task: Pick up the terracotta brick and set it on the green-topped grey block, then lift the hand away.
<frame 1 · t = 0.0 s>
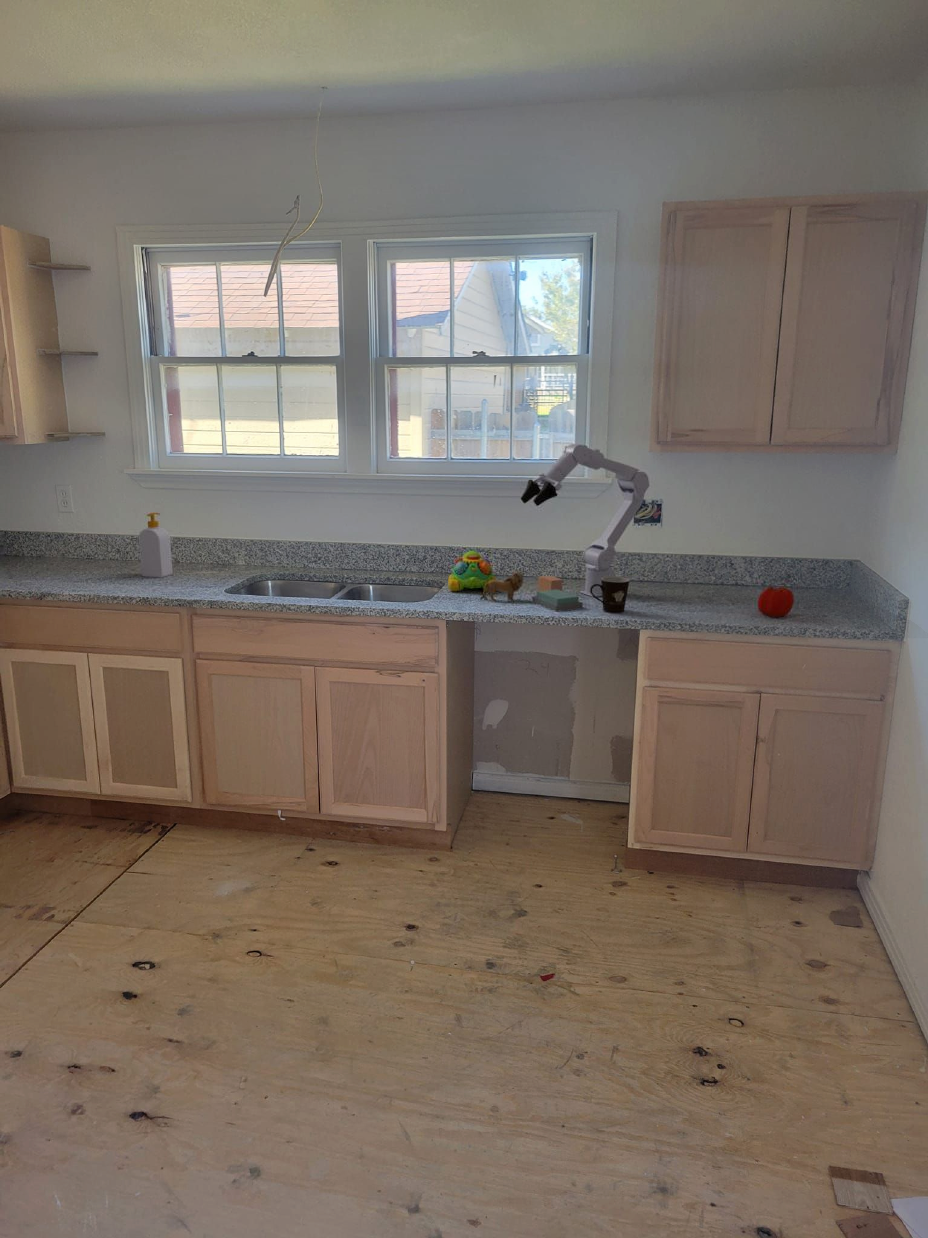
hand: (528, 502, 261), 32 cm above the worktop, tool tilted 50°, fingers open, 7 cm apart
soap bottle: (158, 575, 305), on the worktop
turtle toy: (472, 588, 291), on the worktop
coffee mug: (608, 611, 259), on the worktop
tomato: (773, 616, 255), on the worktop
green-topped grey block: (556, 604, 265), on the worktop
terracotta brick: (549, 594, 281), on the worktop
lion figurine: (502, 600, 272), on the worktop
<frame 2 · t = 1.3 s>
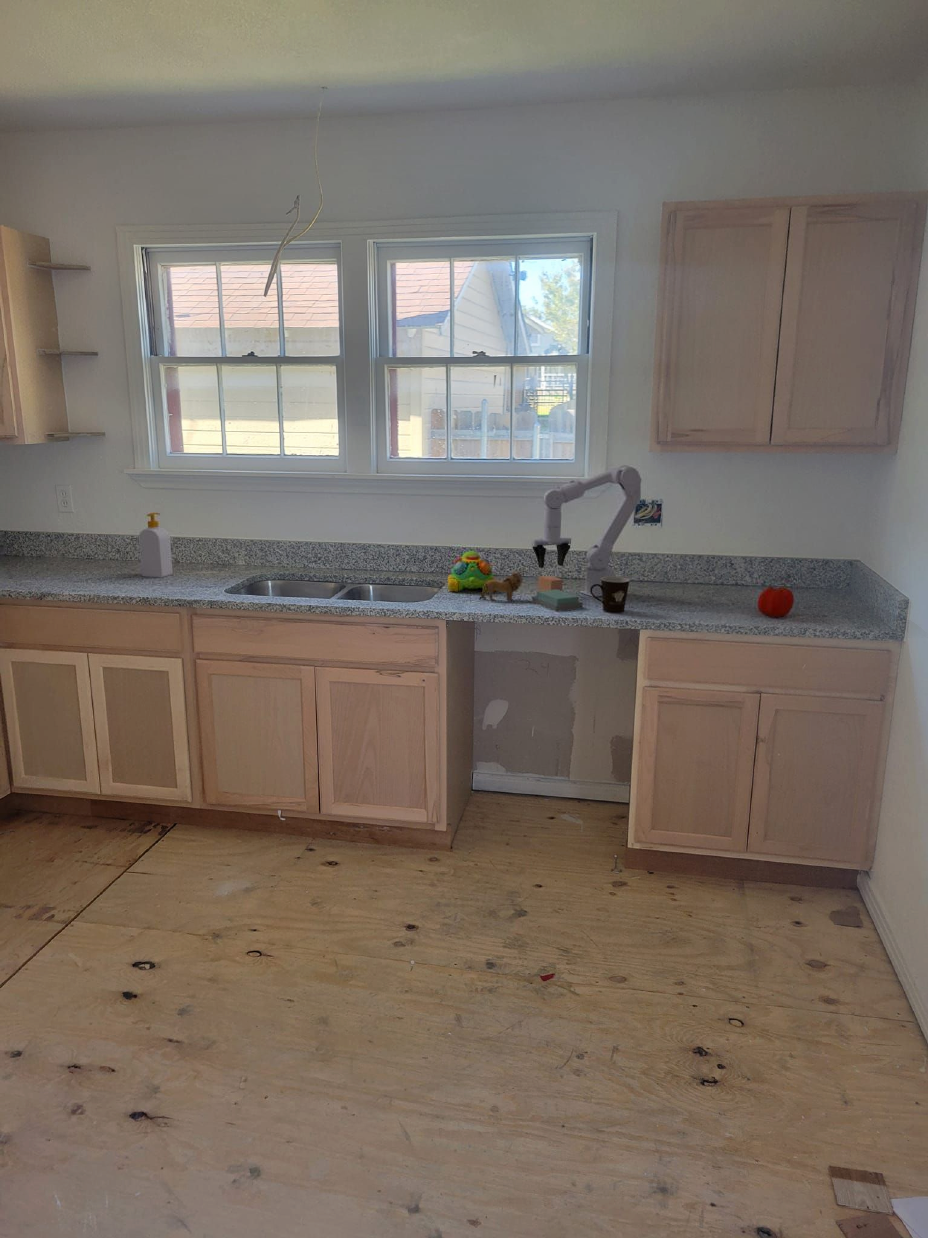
hand: (550, 566, 279), 9 cm above the worktop, tool pointing down, fingers open, 7 cm apart
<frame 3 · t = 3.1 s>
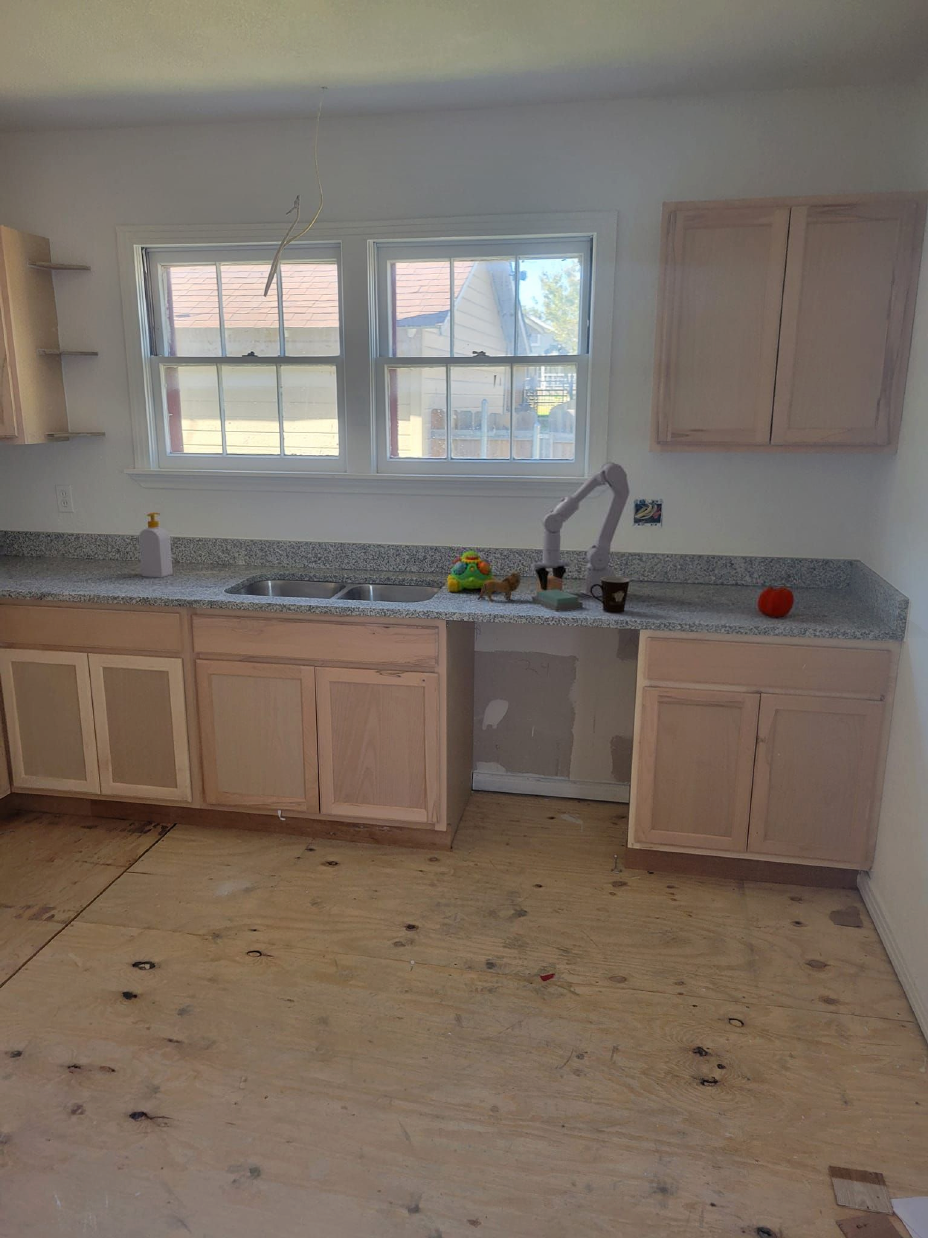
hand: (549, 589, 281), 2 cm above the worktop, tool pointing down, fingers closed on terracotta brick, 4 cm apart
terracotta brick: (549, 593, 281), on the worktop, touching gripper
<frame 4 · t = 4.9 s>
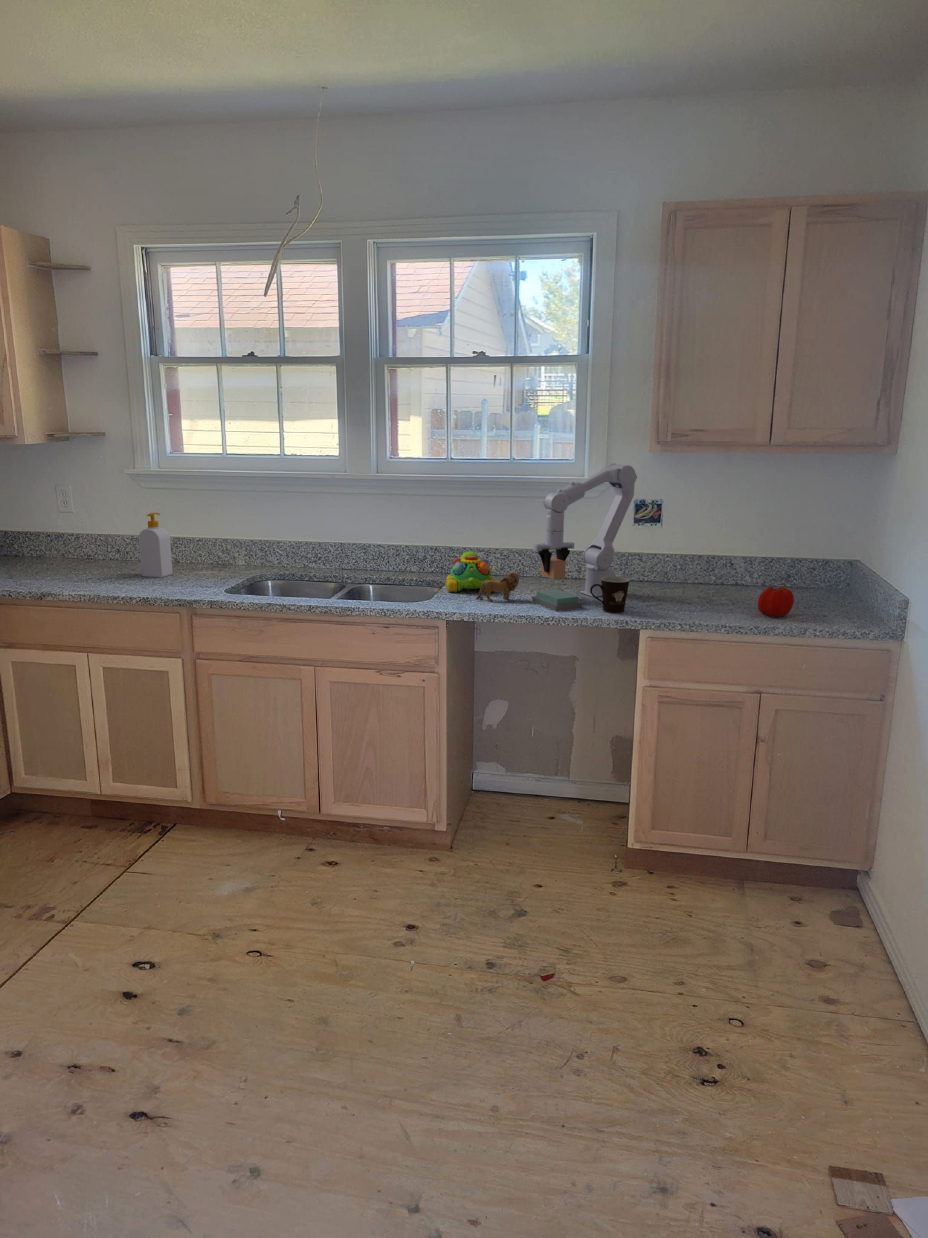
hand: (553, 571, 273), 9 cm above the worktop, tool pointing down, fingers closed on terracotta brick, 4 cm apart
terracotta brick: (552, 576, 274), point 7 cm above the worktop, touching gripper
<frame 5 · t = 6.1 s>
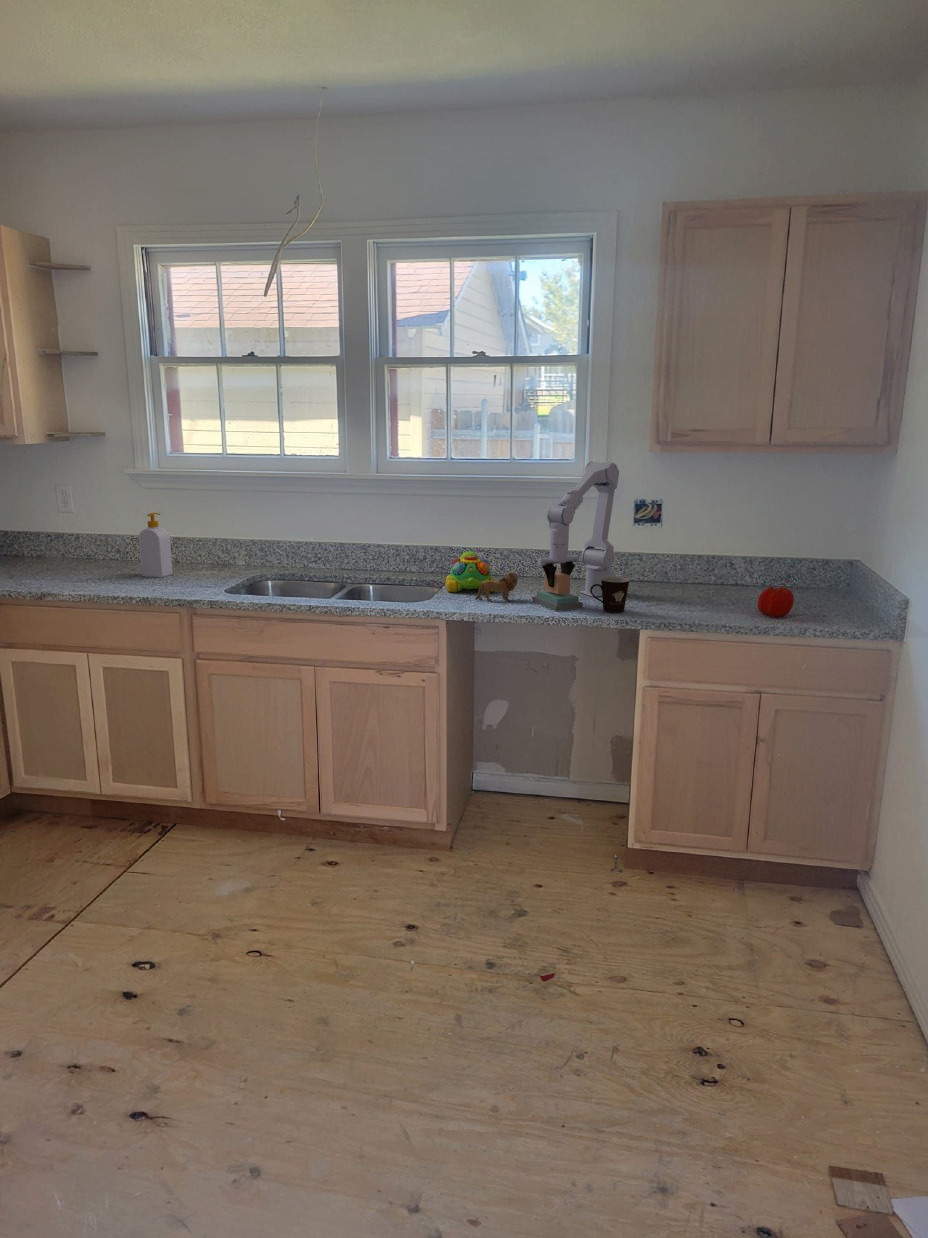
hand: (557, 586, 264), 6 cm above the worktop, tool pointing down, fingers closed on terracotta brick, 4 cm apart
terracotta brick: (556, 591, 265), point 4 cm above the worktop, touching gripper
when the fingers open (6 cm above the worktop, at t = 6.9 s): terracotta brick stays where it is, resting on green-topped grey block.
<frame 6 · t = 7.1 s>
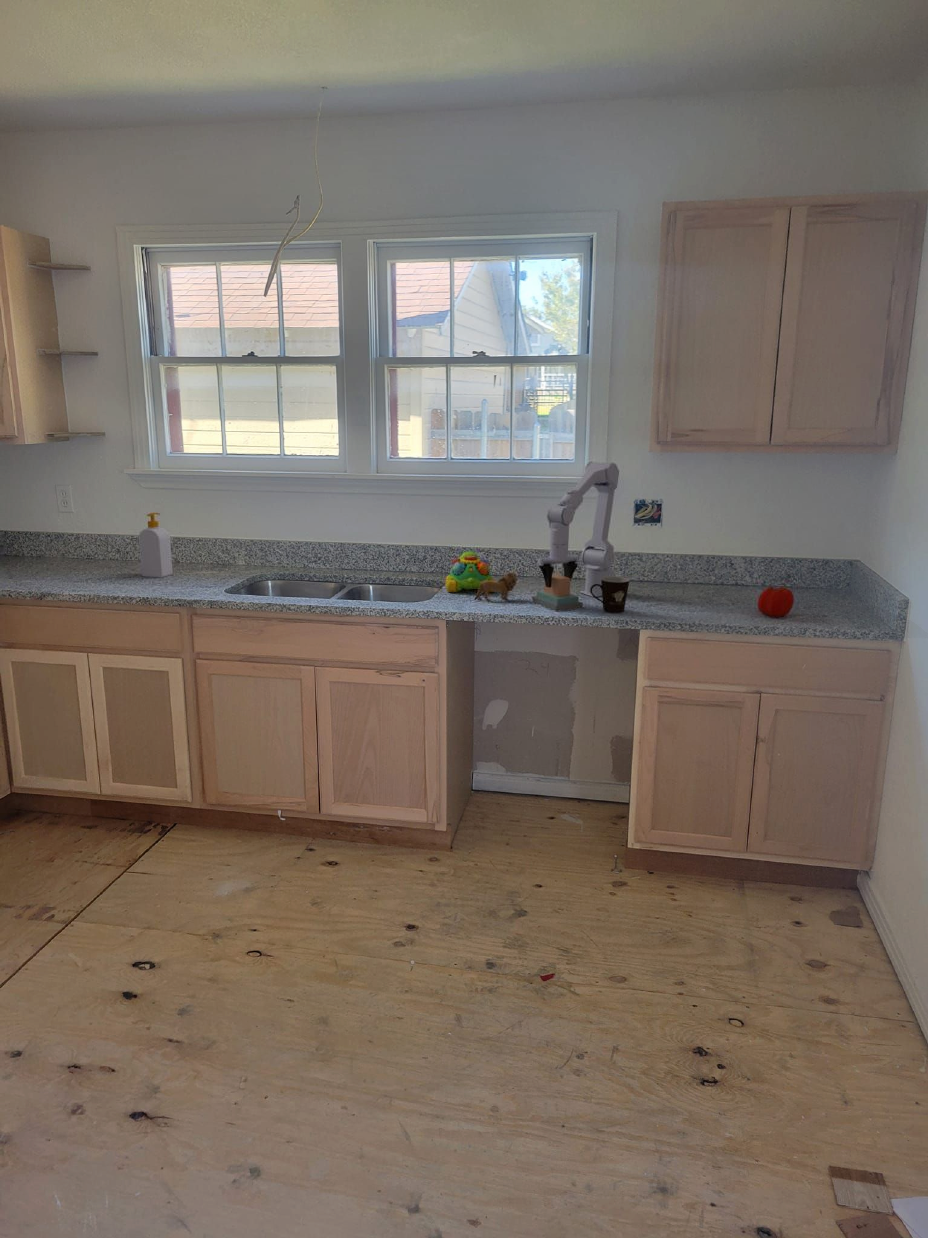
hand: (557, 586, 264), 6 cm above the worktop, tool pointing down, fingers open, 6 cm apart
terracotta brick: (556, 593, 265), point 4 cm above the worktop, touching green-topped grey block
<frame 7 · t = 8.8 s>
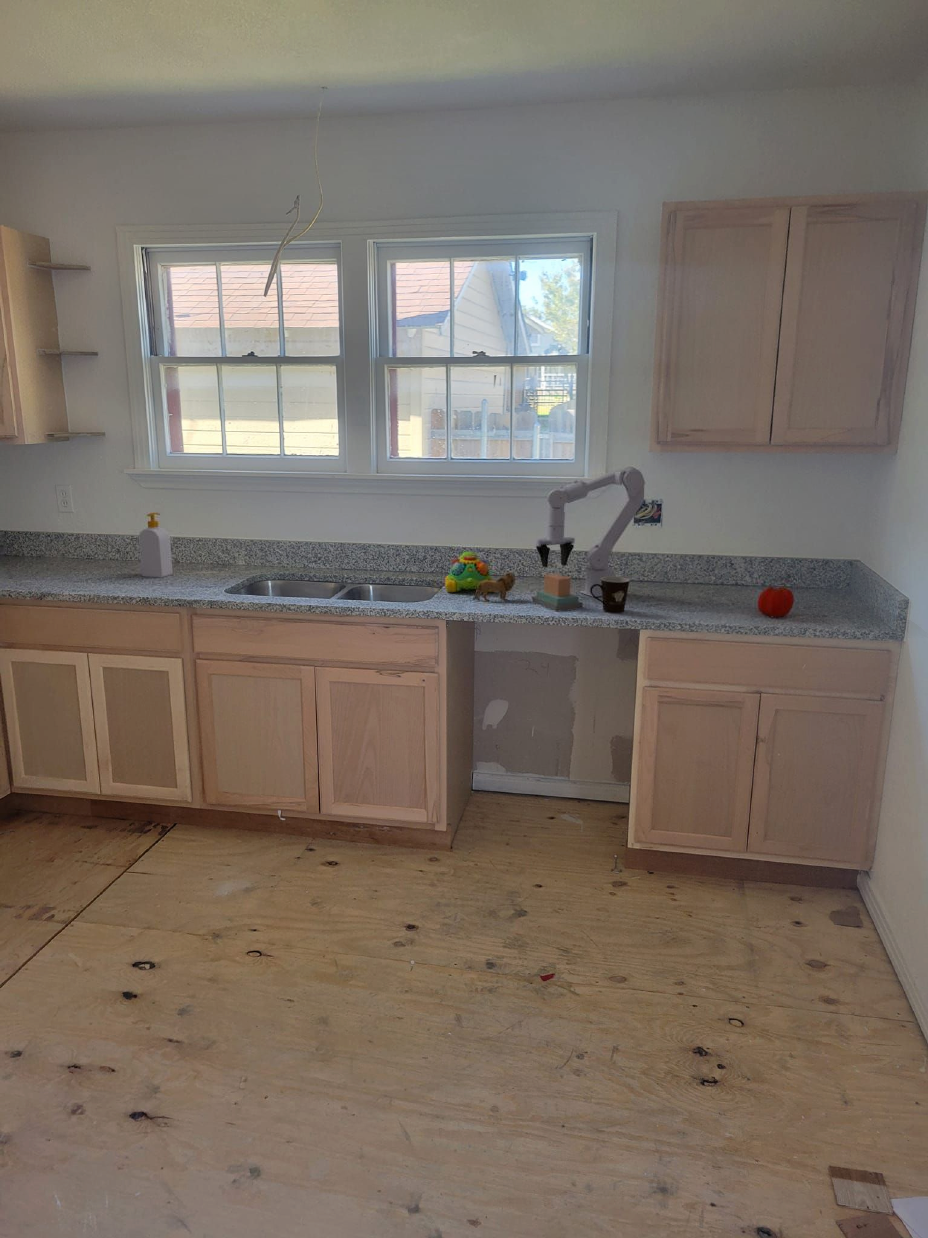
hand: (554, 565, 280), 9 cm above the worktop, tool pointing down, fingers open, 7 cm apart
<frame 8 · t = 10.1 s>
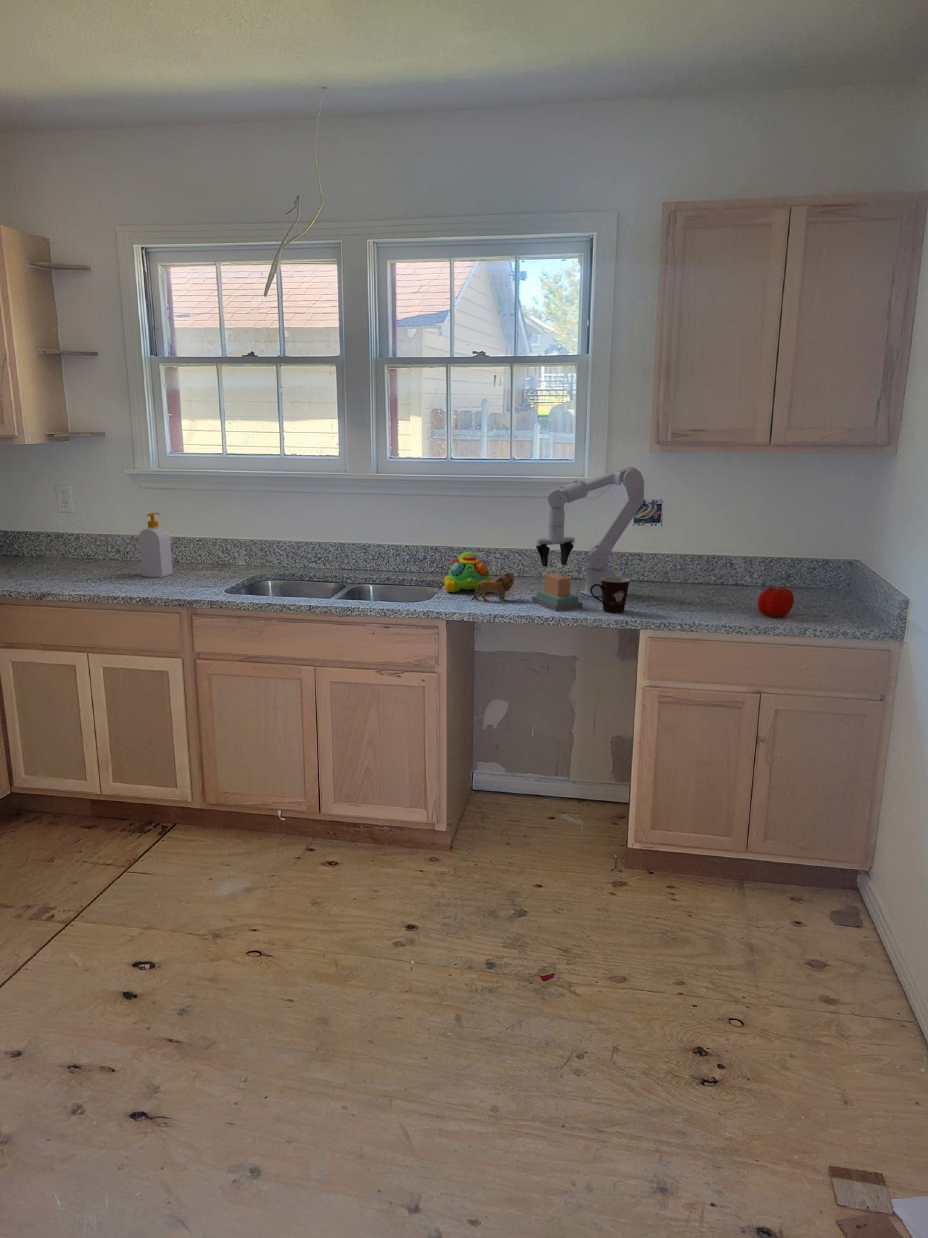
hand: (554, 565, 281), 9 cm above the worktop, tool pointing down, fingers open, 7 cm apart
at the end: terracotta brick 0.3 cm off-centre on the green-topped grey block, point 3.6 cm above the green-topped grey block's base; terracotta brick tilted 0°; the gripper is holding nothing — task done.
